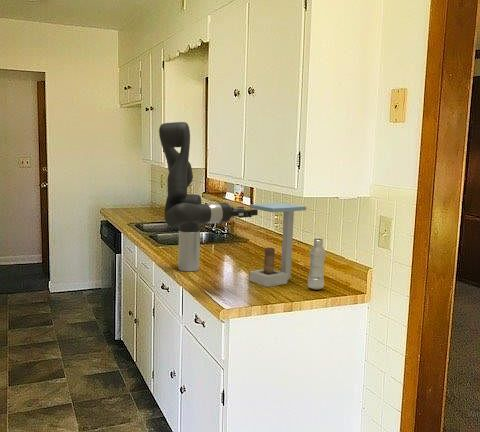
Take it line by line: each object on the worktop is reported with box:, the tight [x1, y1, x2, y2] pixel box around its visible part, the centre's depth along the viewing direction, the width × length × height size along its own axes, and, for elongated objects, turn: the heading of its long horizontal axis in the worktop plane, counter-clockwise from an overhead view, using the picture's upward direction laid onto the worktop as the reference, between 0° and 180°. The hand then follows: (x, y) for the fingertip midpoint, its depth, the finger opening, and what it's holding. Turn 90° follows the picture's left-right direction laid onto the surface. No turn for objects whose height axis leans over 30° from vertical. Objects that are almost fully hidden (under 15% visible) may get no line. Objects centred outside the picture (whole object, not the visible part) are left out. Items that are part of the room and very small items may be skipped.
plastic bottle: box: [307, 238, 327, 290], centre depth 206 cm, size 6×7×20 cm
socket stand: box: [249, 202, 307, 288], centre depth 215 cm, size 18×14×32 cm
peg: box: [263, 247, 276, 275], centre depth 214 cm, size 4×4×14 cm
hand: (250, 210), depth 204 cm, fingers open, 8 cm apart
